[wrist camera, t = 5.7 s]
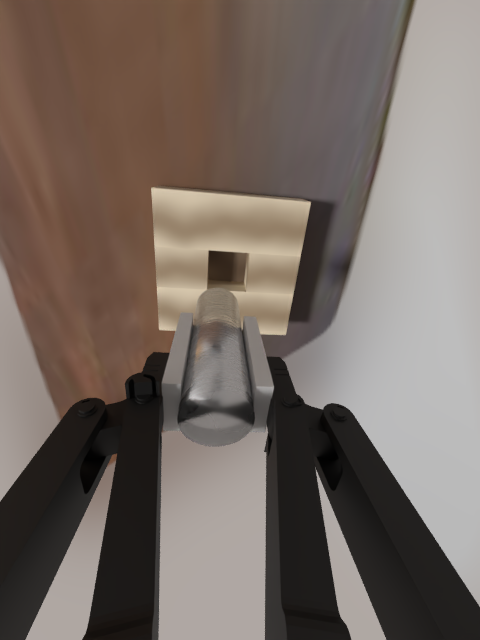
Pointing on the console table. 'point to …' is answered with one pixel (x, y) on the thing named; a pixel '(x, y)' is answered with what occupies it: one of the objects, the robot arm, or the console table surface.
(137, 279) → the console table surface
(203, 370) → the pin
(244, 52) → the console table surface
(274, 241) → the bore block
